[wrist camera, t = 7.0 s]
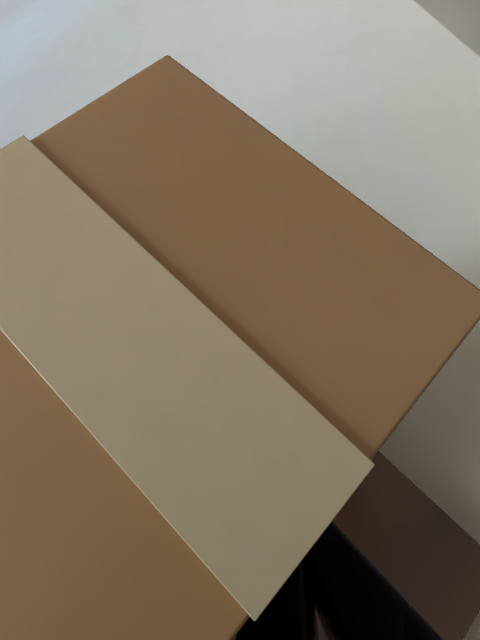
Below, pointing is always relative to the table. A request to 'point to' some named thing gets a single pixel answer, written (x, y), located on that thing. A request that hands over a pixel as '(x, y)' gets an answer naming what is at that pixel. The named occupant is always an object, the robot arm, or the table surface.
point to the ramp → (414, 548)
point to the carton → (191, 362)
